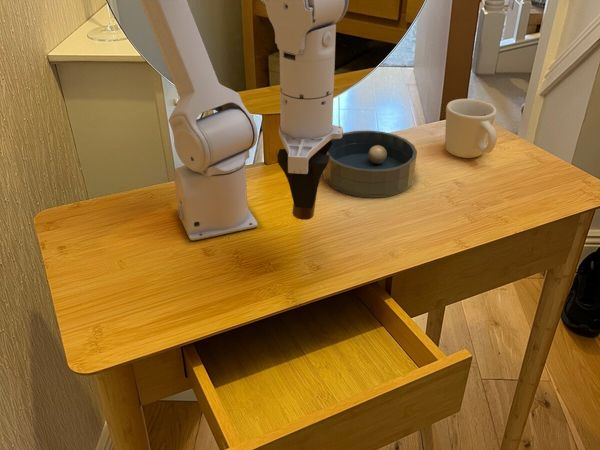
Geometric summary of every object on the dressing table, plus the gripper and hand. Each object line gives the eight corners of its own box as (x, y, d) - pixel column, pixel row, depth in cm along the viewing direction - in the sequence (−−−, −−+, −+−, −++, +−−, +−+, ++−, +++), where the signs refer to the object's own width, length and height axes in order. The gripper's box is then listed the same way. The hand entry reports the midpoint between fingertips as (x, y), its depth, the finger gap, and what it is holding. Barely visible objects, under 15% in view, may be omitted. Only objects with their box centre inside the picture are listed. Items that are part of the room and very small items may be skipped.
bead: (372, 168, 99) (384, 154, 98) (361, 155, 100) (372, 141, 99) (382, 167, 101) (393, 154, 100) (371, 154, 102) (382, 141, 101)
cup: (509, 165, 102) (518, 119, 97) (467, 173, 99) (475, 126, 95) (470, 138, 110) (477, 95, 106) (431, 146, 108) (437, 102, 103)
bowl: (347, 205, 91) (348, 178, 88) (309, 163, 102) (309, 138, 99) (431, 187, 95) (434, 161, 93) (385, 149, 106) (388, 125, 104)
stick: (298, 221, 74) (305, 161, 69) (288, 210, 75) (295, 151, 71) (317, 218, 75) (326, 158, 70) (307, 206, 76) (315, 148, 72)
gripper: (338, 118, 60) (334, 236, 67) (348, 69, 72) (344, 173, 79) (266, 114, 61) (269, 231, 68) (288, 66, 73) (289, 169, 80)
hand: (305, 199), depth 74 cm, fingers closed on stick, 2 cm apart
